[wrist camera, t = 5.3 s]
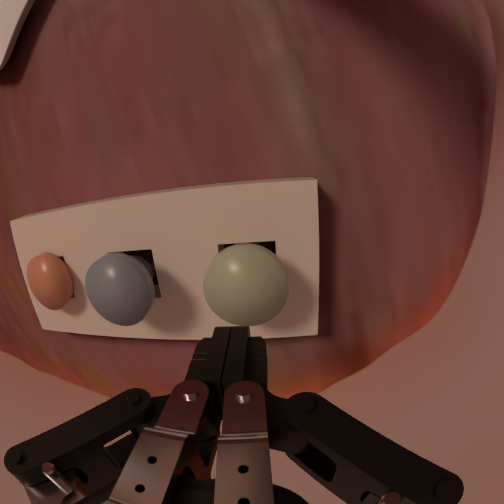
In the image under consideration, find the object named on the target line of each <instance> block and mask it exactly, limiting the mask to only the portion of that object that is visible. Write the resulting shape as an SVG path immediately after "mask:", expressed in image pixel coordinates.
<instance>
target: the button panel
mask: <svg viewBox="0 0 504 504" xmlns="http://www.w3.org/2000/svg"><path fill="white" fill-rule="evenodd" d="M10 224H11V229H12V233H13V238H14V242H15V246H16V250H17V254H18V258H19V262H20V265H21V269H22V272H23V275H24V279H25V282H26V285H27V288H28V291H29V294H30V297H31V300H32V302H33V305H34V308H35V311H36V313H37V316H38V318H39V321H40V323H41V326H42V328H43V329H46V330H54V331H61V332H70V333H79V334H89V335H100V336H112V337H127V338H146V339H175V340H202V339H203V338H212V335H213V331H214V328H215V327H219V326H238V325H234V324H231V323H228V322H226V321H224V320H223V319H221V318H220V317H218V316H217V315H216V314H215V313H214V312H213V311H212V310H211V308H210V307H209V306H208V304H207V302H206V299H205V297H204V293H203V281H204V276H205V274H206V271H207V269H208V267H209V265H210V263H211V262H212V260H213V259H214V257H215V256H216V255H217V254H218V253H219V252H221V251H222V250H223V249H224V244H233V243H248V242H263V241H275V248H276V256H277V257H278V258H279V259H280V260H281V262H282V263H283V265H284V267H285V270H286V273H287V279H288V286H289V293H288V298H287V301H286V304H285V306H284V307H283V309H282V310H281V312H280V313H279V314H278V315H277V316H275V317H274V318H273V319H271V320H270V321H268V322H266V323H263V324H260V325H256V326H249V327H250V336H251V337H255V336H261V337H262V338H281V337H296V336H309V335H318V309H319V217H318V189H317V179H314V178H312V177H300V178H281V179H265V180H251V181H239V182H228V183H217V184H207V185H198V186H189V187H181V188H173V189H165V190H158V191H151V192H144V193H137V194H131V195H125V196H118V197H113V198H107V199H101V200H96V201H90V202H85V203H80V204H75V205H70V206H65V207H60V208H55V209H51V210H46V211H42V212H38V213H33V214H29V215H25V216H23V217H20V218H17V219H15V220H12V221H10ZM147 249H152V254H153V259H154V264H155V269H156V274H157V279H158V284H159V285H154V288H155V299H154V303H153V305H152V307H151V309H150V310H149V312H148V313H147V314H146V316H145V317H144V318H143V320H142V321H140V322H139V323H137V324H135V325H132V326H120V325H116V324H114V323H111V322H109V321H108V320H106V319H105V318H103V317H102V316H101V315H100V314H99V313H98V312H97V311H96V310H95V309H94V307H93V306H92V304H91V303H90V301H89V299H88V296H87V293H86V288H85V277H86V273H87V271H88V269H89V267H90V266H91V265H92V264H93V263H94V262H96V261H97V260H98V259H100V258H101V257H103V256H104V255H106V254H109V253H113V252H119V253H123V251H134V250H147ZM43 252H50V253H53V254H55V255H56V256H64V260H65V264H66V266H67V268H68V270H69V272H70V274H71V277H72V281H73V287H74V290H73V296H72V298H71V300H70V301H69V302H68V303H67V304H66V305H65V306H63V307H62V308H61V309H59V310H51V309H48V308H46V307H45V306H43V305H42V304H41V303H40V302H39V301H38V300H37V299H36V297H35V296H34V295H33V293H32V291H31V289H30V286H29V283H28V279H27V267H28V264H29V262H30V260H31V259H32V258H34V257H36V256H37V255H39V254H41V253H43Z"/></svg>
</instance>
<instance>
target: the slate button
mask: <svg viewBox="0 0 504 504" xmlns="http://www.w3.org/2000/svg"><path fill="white" fill-rule="evenodd" d="M85 288H86V293H87V296H88V299H89V301H90V303H91V304H92V306H93V307H94V309H95V310H96V311H97V312H98V313H99V314H100V315H101V316H102V317H103V318H105V319H106V320H108V321H109V322H111V323H114V324H116V325H120V326H132V325H135V324H137V323H139V322H140V321H142V320H143V318H144V317H145V316H146V314H147V313H148V312H149V310H150V309H151V307H152V305H153V303H154V299H155V288H154V284H153V270H152V268H151V266H150V264H149V263H148V262H147V261H146V260H145V259H144V258H142V257H140V256H138V255H127V254H124V253H119V252H113V253H109V254H106V255H104V256H103V257H101V258H100V259H98V260H97V261H96V262H94V263H93V264H92V265H91V266H90V267H89V269H88V271H87V273H86V277H85Z"/></svg>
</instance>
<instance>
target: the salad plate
mask: <svg viewBox="0 0 504 504" xmlns="http://www.w3.org/2000/svg"><path fill="white" fill-rule="evenodd" d="M34 2H35V0H0V70H1V69H2V68H3V67H4V66H5V65H6V63H7V61H8V60H9V58H10V56H11V54H12V51H13V49H14V46H15V44H16V41H17V38H18V36H19V33H20V31H21V29H22V26H23V24H24V22H25V19H26V17H27V15H28V13H29V11H30V9H31V7H32V6H33V4H34Z"/></svg>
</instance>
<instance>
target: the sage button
mask: <svg viewBox="0 0 504 504" xmlns="http://www.w3.org/2000/svg"><path fill="white" fill-rule="evenodd" d="M203 293H204V297H205V299H206V302H207V304H208V306H209V307H210V308H211V310H212V311H213V312H214V313H215V314H216V315H217V316H218V317H220V318H221V319H223V320H224V321H226V322H228V323H231V324H234V325H238V326H256V325H260V324H263V323H266V322H268V321H270V320H271V319H273V318H274V317H275V316H277V315H278V314H279V313H280V312H281V310H282V309H283V307H284V306H285V304H286V301H287V298H288V293H289V286H288V279H287V273H286V270H285V267H284V265H283V263H282V262H281V260H280V259H279V258H278V257H277V256H276V255H275V254H274V253H273V252H272V251H270V250H269V249H267V248H265V247H263V246H260V245H256V244H251V243H241V244H235V245H232V246H229V247H227V248H225V249H223V250H222V251H221V252H219V253H218V254H217V255H216V256H215V257H214V259H213V260H212V262H211V263H210V265H209V267H208V269H207V271H206V274H205V276H204V281H203Z"/></svg>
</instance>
